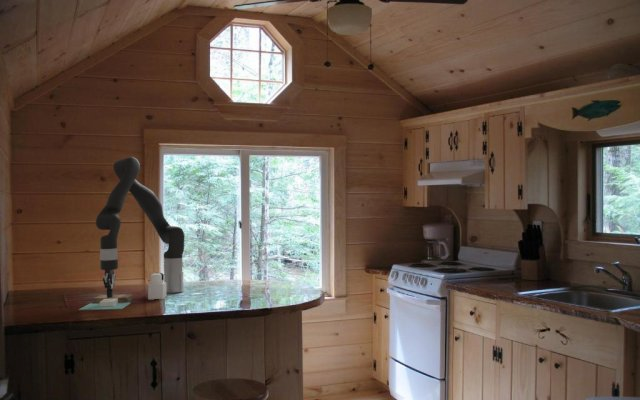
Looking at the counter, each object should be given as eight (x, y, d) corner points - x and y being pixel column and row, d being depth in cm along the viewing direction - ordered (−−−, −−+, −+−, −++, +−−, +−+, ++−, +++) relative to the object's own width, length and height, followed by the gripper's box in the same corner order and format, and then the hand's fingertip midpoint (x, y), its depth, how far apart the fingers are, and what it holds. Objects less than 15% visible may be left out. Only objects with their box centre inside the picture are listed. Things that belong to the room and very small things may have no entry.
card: (104, 303, 283) (104, 298, 283) (118, 302, 284) (117, 298, 284) (99, 306, 274) (99, 301, 274) (113, 306, 275) (113, 301, 275)
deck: (132, 299, 294) (132, 294, 294) (127, 303, 284) (127, 297, 284) (100, 300, 294) (100, 294, 294) (93, 303, 284) (93, 298, 284)
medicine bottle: (151, 297, 301) (151, 272, 301) (166, 297, 301) (166, 272, 301) (147, 299, 294) (147, 274, 294) (163, 299, 294) (162, 273, 294)
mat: (130, 303, 284) (130, 302, 284) (121, 309, 268) (121, 308, 268) (90, 304, 283) (90, 303, 283) (78, 310, 267) (78, 309, 267)
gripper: (113, 259, 275) (114, 299, 275) (121, 257, 288) (121, 294, 288) (96, 260, 274) (97, 300, 274) (104, 257, 287) (105, 295, 287)
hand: (109, 297), depth 281 cm, fingers closed
